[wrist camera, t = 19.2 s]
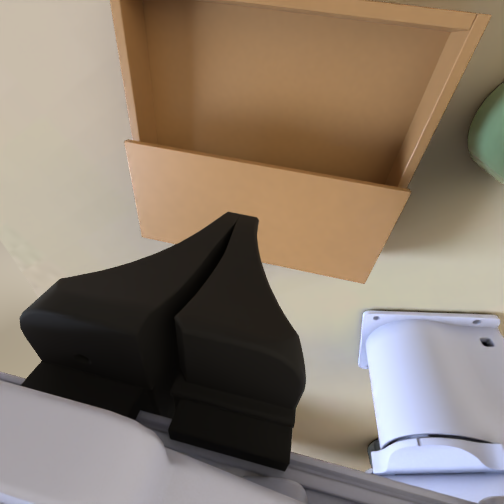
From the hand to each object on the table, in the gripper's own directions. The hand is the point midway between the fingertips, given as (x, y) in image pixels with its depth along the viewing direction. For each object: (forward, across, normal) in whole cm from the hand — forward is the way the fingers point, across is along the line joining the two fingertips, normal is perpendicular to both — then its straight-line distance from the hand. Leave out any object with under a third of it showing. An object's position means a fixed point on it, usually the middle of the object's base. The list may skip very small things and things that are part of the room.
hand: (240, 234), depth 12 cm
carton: (+8, 0, -2) cm, 8 cm away
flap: (+5, 0, +2) cm, 5 cm away
